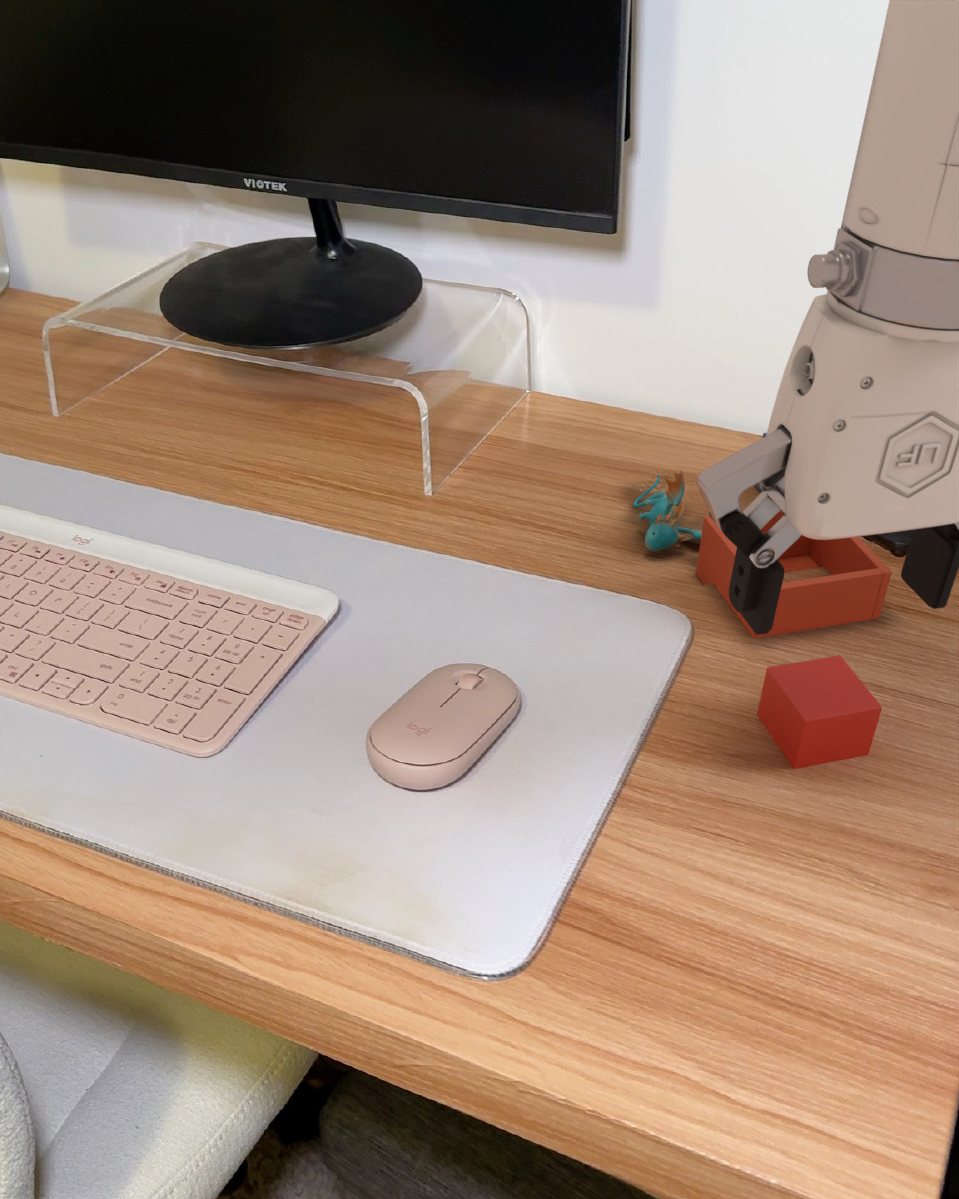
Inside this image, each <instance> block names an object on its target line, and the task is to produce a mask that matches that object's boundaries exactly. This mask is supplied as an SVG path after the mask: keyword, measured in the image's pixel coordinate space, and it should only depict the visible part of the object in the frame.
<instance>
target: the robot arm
mask: <svg viewBox="0 0 959 1199" xmlns="http://www.w3.org/2000/svg"><path fill="white" fill-rule="evenodd" d="M869 89H870V90H869V94H868V99H867V103H866V109H865V114H864V118H863V122H862V126H861V127H862V128H861V132H860V137H859V141H858V145H857V150H856V155H855V160H854V164H853V169H852V173H851V178H850V183H849V188H848V191H847V196H846V201H845V205H844V210H843V216H842V221H841V225H840V227H839V228H838V229H837V231H836V232H837V233H836V235H835V236H836V237H835V242H834V246H833V249H831V250H828V252H827V253H821V254H814V255H812V256H811V257H810V259H809V261H808V264H807V273H806V274H807V280H808V283H809V285H810V286H811V287H812V288H813V289H824V288H825V289H826V293H825V294H820V295H816V296H815V297H814V298H813V299H812V302H811V305H810V306H809V308H808V311H807V313H806V315H805V317H804V319H803V322H802V324H801V326H800V328H799V331H798V334H797V335H796V338H795V341H794V343H793V346H792V349H791V351H790V354H789V357H788V360H787V362H786V365H785V368H784V371H783V374H782V378H781V380H780V384H779V387H778V390H777V392H776V396H775V400H774V404H773V407H772V412H771V415H770V417H769V418H770V419H769V423H768V427H767V431H766V433H767V435H766V436H765V437H763V436H762V438H760V439H758V440H756V441H754V442H753V443H751V444H749V445H747V446H745V447H743V448H742V449H740V450H738V451H737V452H735V453H733V454H731V455H729V456H727V457H725V458H724V459H722V460H720V461H719V462H716V463H715V464H713V465H711V466H709V467H707V468H706V469H704V470H703V471H701V472H700V473H699V475H698V476H697V478H696V484H697V487H698V489H699V491H700V494H701V497H702V498H703V501H704V503H705V506H706V508H707V509H708V511H709V512H708V514H709V516H710V517H711V518H712V520H713V521H714V522H715V523H716V525H717V526H718V527H719V528H720V530H721V531H722V532H723V533H724V535H725V536H726V537H727V538H728V539H729V540H730V541H731V542H732V543H733V544H734V545H735V546H736V547H737V550H736V555H735V560H734V565H733V570H732V576H731V581H730V586H729V599H730V602H731V604H732V606H733V607H734V608H735V610H736V611H737V612H740V614H741V615H742V616H743V618H744V619H745V620H746V622H747V623H748V624H749V626H750V627H751V628H752V630H753V631H754V632H755V634H757V635H760V634H767V633H768V632H769V630H771V629H772V626H773V622H774V618H775V613H776V609H777V604H778V600H779V595H780V591H781V587H782V583H784V582H783V581H784V577H785V573H784V567H783V566H782V564H781V563H780V562H779V561H778V560H777V559H778V558H779V557H780V556H781V555H782V554H783V553H784V552H785V551H786V550H787V549H788V548H789V547H790V546H791V545H792V544H793V543H794V542H795V541H796V540H797V539H798V538H799V537H800V536H801V535H803V536H805V537H808V538H811V539H817V540H830V539H841V538H850V537H859V538H860V537H866V536H874V535H882V534H890V533H898V532H906V531H912V535H911V538H910V541H909V544H908V548H907V552H906V555H905V558H904V561H903V565H902V568H901V571H900V578H901V579H902V581H903V582H904V583H905V584H906V585H907V586H908V587H909V588H910V589H911V590H912V591H913V592H914V593H915V594H916V595H917V596H918V597H919V598H920V599H921V600H922V601H923V602H924V603H925V604H926V605H927V607H929V608H930V609H933V610H938V609H943V608H945V607H947V605H948V602H949V598H950V596H951V593H952V590H953V587H954V583H955V581H956V578H957V575H958V572H959V0H888V6H887V9H886V14H885V19H884V24H883V28H882V34H881V38H880V43H879V47H878V52H877V56H876V61H875V67H874V71H873V77H872V80H871V86H870V88H869ZM757 483H759V485H760V488H761V490H762V492H759V494H758V495H757V496H756V497H755V498H754V499H753V500H752V501H751V502H750V503H749V504H748V505H747V506H746V507H745V508H744V509H743V510H742V506H741V503H740V498H741V496H742V494H743V493H744V492H746V491H747V490H748V489H750V488H752V487H755V485H756V484H757ZM780 510H781V511H782V512H783V513H784V514H785V515H786V516H785V515H784V516H783V517H782V518H781V519H780V520H779V521H778V522H777V523H776V524H775V525H774V526H773V527H772V528H771V529H770V530H769V531H768V532H767V533H766V534H764V533H763V532H762V531H761V529H762V528H763V527H764V526H765V525H766V524H767V523H768V522H769V521H770V520H771V519H772V518H773V517H774V516H775V515H776V514H777V513H778V512H779V511H780ZM742 511H743V512H742Z"/></svg>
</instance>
